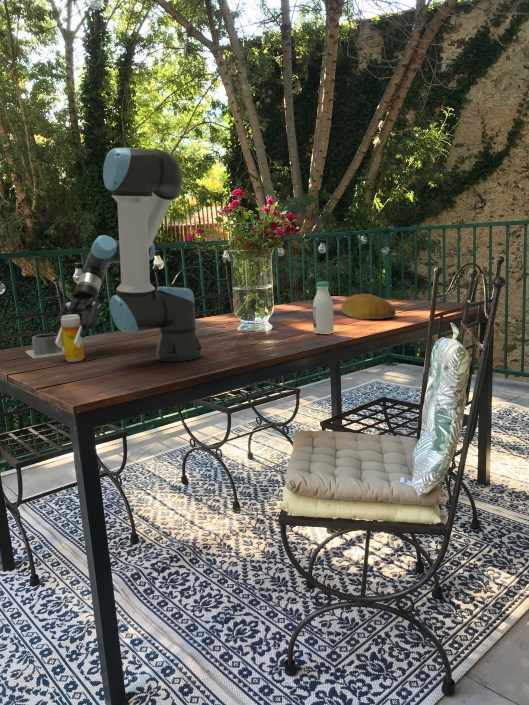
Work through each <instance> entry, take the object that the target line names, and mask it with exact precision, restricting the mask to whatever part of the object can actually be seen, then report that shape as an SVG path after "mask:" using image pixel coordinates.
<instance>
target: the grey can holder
mask: <svg viewBox="0 0 529 705" xmlns="http://www.w3.org/2000/svg"><path fill="white" fill-rule="evenodd" d="M56 339H57V332H56V333H54V332H53V333H41V334H36V335H33V336H32V337H31V341H32V342H31V343H32V349H29V350H25V353H26V354H27V355H28V356H29V357H31V358H32V359H33V360H34V359H42V358H47V357H55V356H62V355H65V353H64V344H63V343H62V346H61V347H58V346H57V344H56V343H55V341H56Z"/></svg>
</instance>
